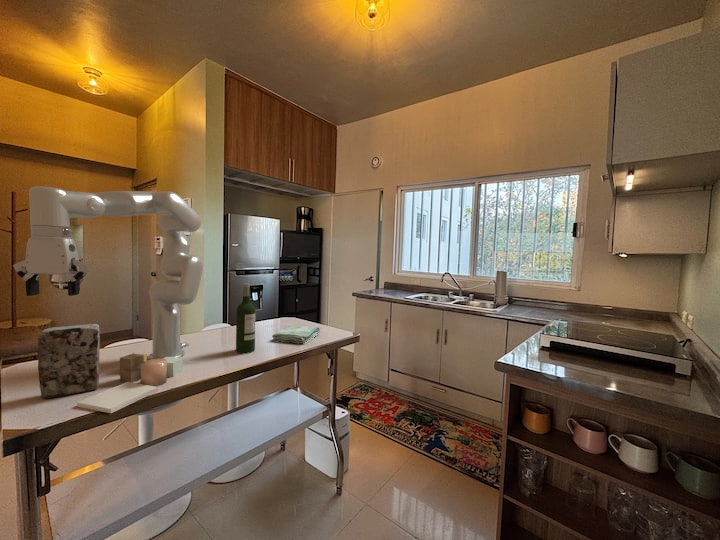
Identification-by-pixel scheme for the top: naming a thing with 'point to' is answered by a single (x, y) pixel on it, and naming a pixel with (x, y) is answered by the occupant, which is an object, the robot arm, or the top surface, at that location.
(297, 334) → the towel
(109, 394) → the cream board
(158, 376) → the peach rounded cube
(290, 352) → the top surface
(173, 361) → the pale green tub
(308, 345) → the top surface
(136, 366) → the walnut block
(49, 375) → the stone block
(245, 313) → the wine bottle
